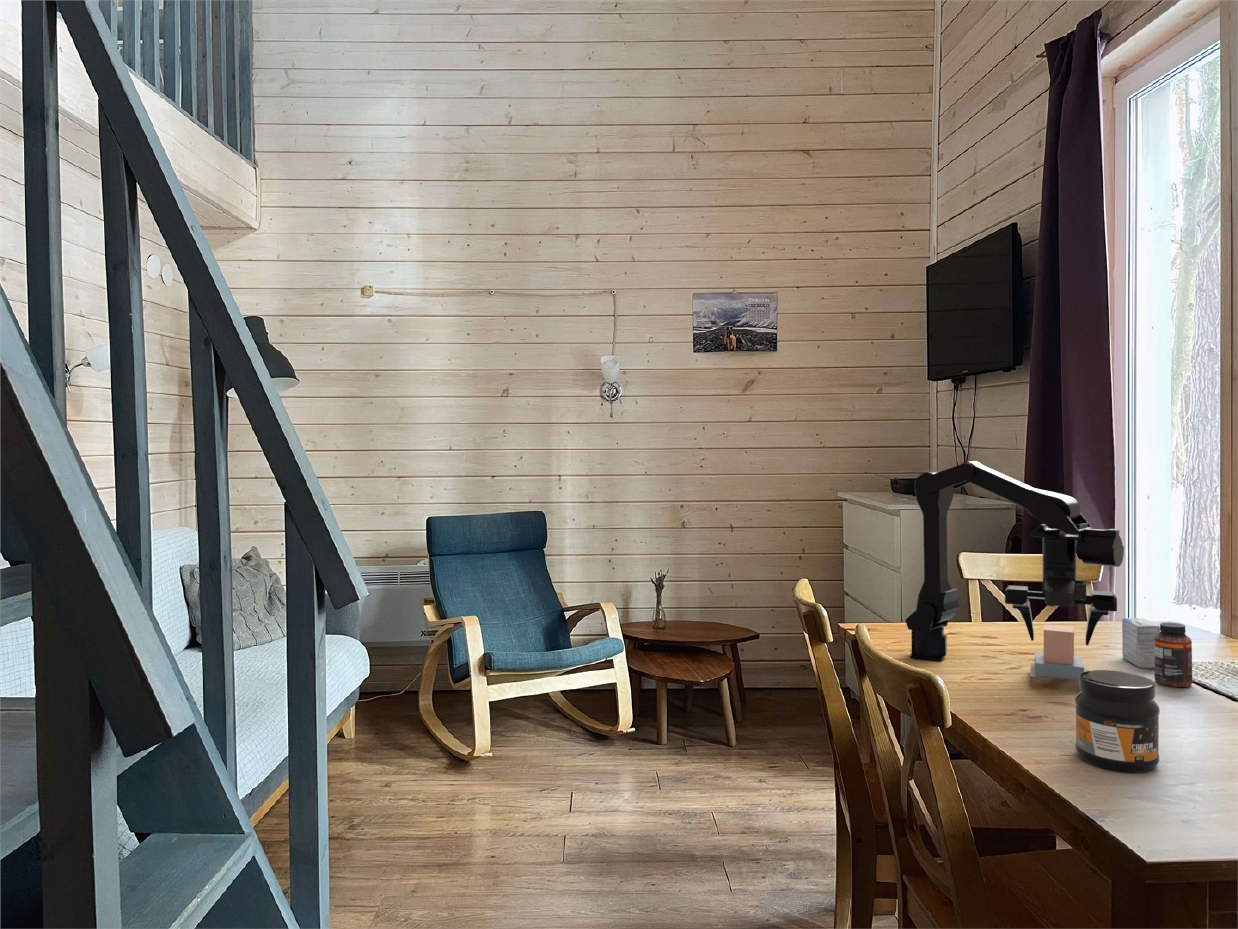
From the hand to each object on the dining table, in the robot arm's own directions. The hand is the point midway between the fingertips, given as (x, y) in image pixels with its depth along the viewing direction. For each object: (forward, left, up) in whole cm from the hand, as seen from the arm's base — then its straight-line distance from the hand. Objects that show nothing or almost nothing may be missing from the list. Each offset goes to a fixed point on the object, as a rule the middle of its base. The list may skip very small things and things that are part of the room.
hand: (1059, 642), depth 159 cm
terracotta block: (0, 0, -3) cm, 3 cm away
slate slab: (0, 0, -6) cm, 6 cm away
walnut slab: (0, 0, -8) cm, 8 cm away
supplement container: (+7, -40, -8) cm, 41 cm away
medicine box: (+15, +21, -8) cm, 27 cm away
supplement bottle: (+19, +7, -8) cm, 22 cm away
